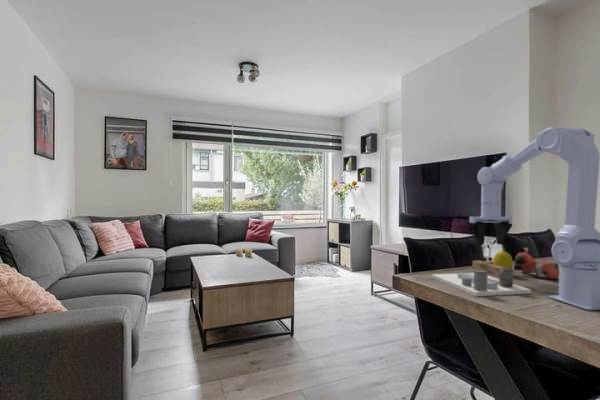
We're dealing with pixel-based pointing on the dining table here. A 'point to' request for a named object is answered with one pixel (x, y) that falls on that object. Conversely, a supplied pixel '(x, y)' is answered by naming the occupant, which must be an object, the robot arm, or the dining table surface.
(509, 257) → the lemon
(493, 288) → the latch frame
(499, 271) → the latch bar
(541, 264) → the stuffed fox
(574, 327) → the dining table surface
